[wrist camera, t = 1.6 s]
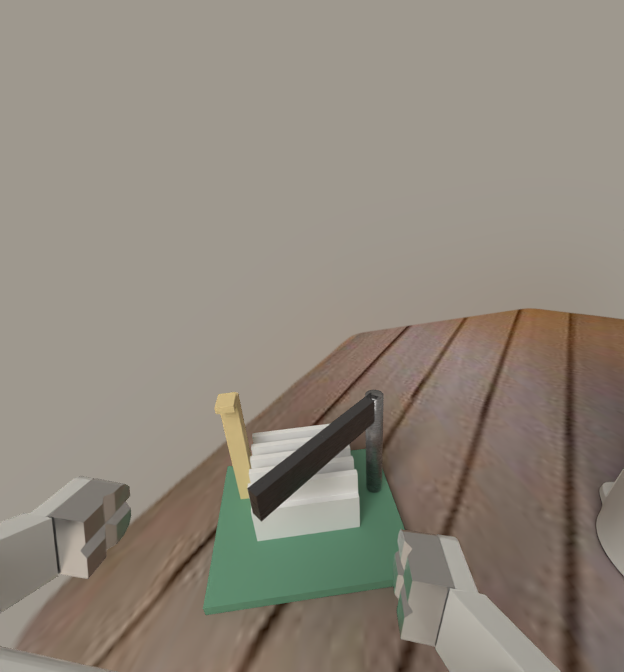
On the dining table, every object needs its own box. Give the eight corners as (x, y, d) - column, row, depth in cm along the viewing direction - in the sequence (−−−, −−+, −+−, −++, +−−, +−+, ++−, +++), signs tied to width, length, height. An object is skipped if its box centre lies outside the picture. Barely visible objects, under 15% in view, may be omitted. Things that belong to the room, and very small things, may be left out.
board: (374, 453, 51) (375, 354, 43) (420, 582, 34) (434, 457, 27) (229, 472, 49) (204, 373, 42) (205, 614, 33) (159, 494, 26)
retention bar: (371, 477, 45) (372, 387, 39) (384, 485, 43) (387, 394, 37) (267, 587, 34) (244, 485, 27) (280, 602, 32) (259, 499, 26)
